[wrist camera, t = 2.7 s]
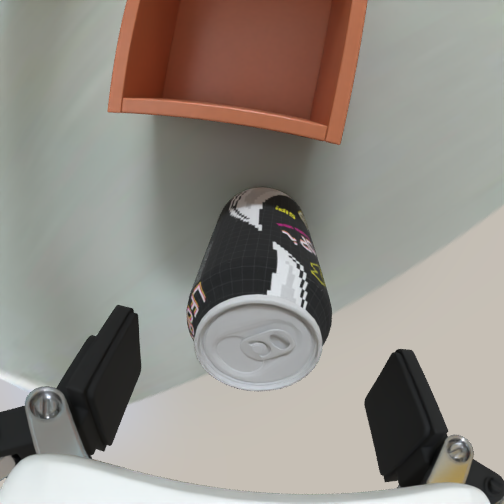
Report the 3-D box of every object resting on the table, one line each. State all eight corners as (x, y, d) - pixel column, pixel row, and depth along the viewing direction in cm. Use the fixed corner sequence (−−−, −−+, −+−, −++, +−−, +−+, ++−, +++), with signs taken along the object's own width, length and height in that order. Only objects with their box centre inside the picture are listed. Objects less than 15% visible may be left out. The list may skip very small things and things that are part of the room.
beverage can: (319, 236, 22) (364, 365, 11) (251, 277, 23) (239, 416, 12) (274, 167, 20) (285, 249, 9) (202, 215, 21) (144, 331, 11)
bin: (153, 108, 18) (106, 112, 12) (182, -34, 14) (151, -78, 8) (316, 132, 19) (340, 145, 13) (343, -12, 14) (374, -53, 8)
